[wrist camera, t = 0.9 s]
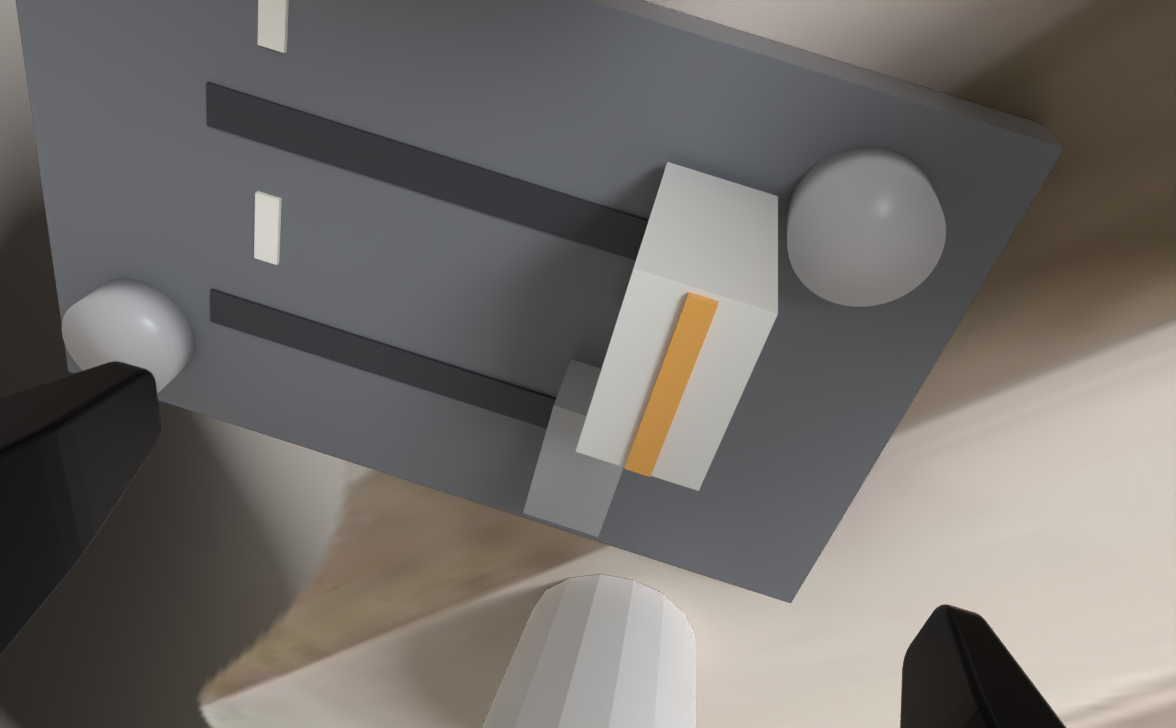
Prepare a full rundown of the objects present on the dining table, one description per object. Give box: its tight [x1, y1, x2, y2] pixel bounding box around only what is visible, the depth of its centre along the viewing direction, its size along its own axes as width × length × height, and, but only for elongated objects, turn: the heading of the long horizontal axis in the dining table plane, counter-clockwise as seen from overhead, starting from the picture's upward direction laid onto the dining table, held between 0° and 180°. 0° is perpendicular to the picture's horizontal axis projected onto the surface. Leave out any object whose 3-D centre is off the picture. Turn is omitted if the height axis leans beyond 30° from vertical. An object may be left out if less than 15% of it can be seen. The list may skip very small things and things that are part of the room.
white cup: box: [482, 574, 696, 728], centre depth 26 cm, size 7×7×7 cm
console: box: [16, 0, 1064, 603], centre depth 20 cm, size 22×14×4 cm, turn 76°
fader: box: [575, 162, 778, 491], centre depth 16 cm, size 2×4×5 cm, turn 166°
